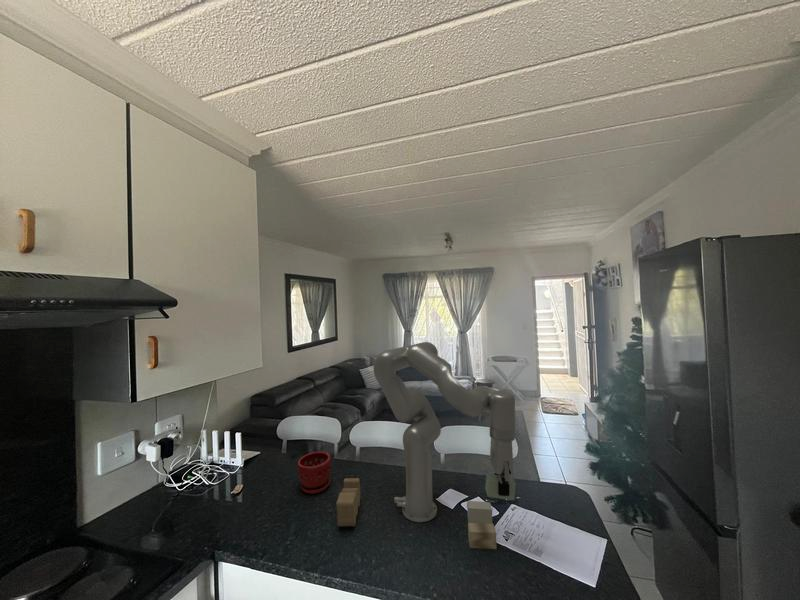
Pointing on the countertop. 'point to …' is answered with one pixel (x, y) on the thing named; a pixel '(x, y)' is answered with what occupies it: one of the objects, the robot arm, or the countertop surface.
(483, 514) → the offwhite brick
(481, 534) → the beech brick
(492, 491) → the sage brick
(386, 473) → the countertop surface
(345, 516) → the toy train
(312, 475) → the plant pot
